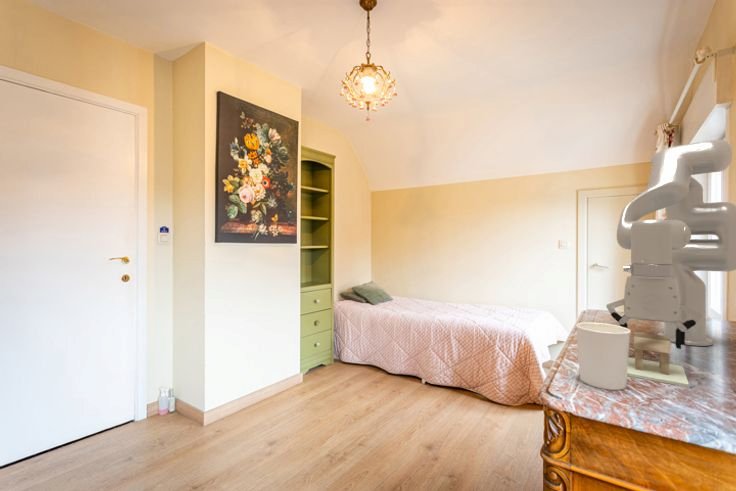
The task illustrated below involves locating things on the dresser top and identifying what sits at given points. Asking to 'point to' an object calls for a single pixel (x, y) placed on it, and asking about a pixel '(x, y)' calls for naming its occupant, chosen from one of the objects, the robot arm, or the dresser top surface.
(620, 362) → the candle holder
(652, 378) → the felt mat
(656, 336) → the footstool
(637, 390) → the dresser top surface
